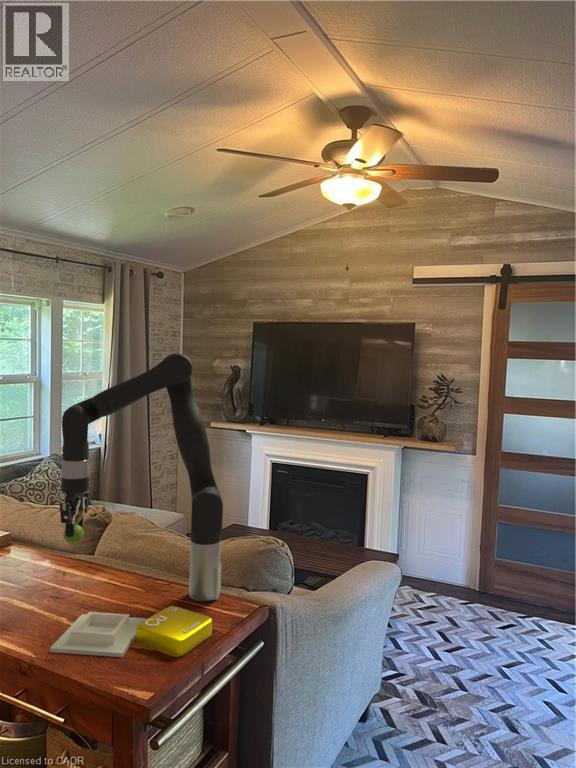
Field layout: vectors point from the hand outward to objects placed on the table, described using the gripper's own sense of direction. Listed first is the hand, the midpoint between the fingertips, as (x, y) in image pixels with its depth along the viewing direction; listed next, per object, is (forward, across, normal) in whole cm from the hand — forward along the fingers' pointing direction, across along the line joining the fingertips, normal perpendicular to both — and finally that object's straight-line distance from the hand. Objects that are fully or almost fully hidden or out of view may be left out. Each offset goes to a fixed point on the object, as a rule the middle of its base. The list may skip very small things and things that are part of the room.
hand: (74, 532), depth 157 cm
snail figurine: (+3, 0, 0) cm, 3 cm away
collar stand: (+21, -16, -15) cm, 30 cm away
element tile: (+22, -14, -34) cm, 42 cm away
